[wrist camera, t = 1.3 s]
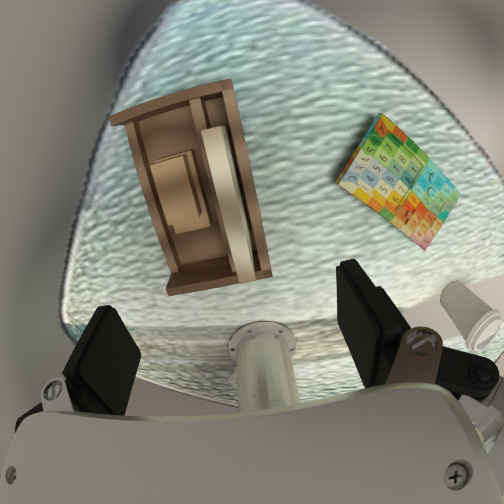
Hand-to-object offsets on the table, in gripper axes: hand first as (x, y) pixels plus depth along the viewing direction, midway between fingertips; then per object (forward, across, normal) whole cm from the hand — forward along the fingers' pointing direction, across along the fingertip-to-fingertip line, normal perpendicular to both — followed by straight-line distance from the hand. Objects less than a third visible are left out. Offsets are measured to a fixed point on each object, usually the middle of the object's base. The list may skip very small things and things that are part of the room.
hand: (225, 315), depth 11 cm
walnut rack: (+28, +5, 0) cm, 29 cm away
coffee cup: (+28, -41, +31) cm, 59 cm away
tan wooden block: (+27, +6, 0) cm, 28 cm away
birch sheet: (+27, 0, 0) cm, 27 cm away
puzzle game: (+29, -24, +5) cm, 38 cm away
